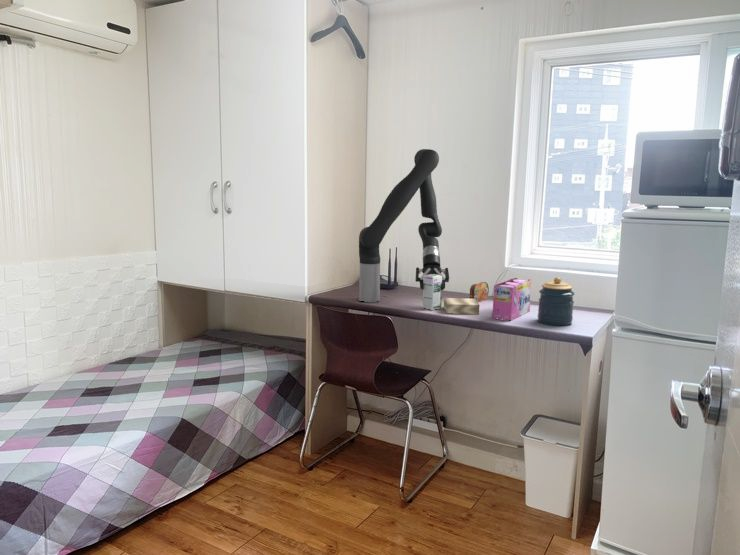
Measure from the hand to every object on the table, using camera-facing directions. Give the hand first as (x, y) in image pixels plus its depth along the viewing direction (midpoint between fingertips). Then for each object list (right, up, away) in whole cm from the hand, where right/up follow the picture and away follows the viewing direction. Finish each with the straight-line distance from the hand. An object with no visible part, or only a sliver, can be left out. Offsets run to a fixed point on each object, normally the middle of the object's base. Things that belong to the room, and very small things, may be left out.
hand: (432, 288), depth 234 cm
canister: (+45, -13, -18) cm, 50 cm away
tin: (+23, -6, +21) cm, 32 cm away
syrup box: (0, -9, +3) cm, 9 cm away
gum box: (+31, -11, -7) cm, 34 cm away
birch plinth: (+12, -9, -1) cm, 15 cm away
